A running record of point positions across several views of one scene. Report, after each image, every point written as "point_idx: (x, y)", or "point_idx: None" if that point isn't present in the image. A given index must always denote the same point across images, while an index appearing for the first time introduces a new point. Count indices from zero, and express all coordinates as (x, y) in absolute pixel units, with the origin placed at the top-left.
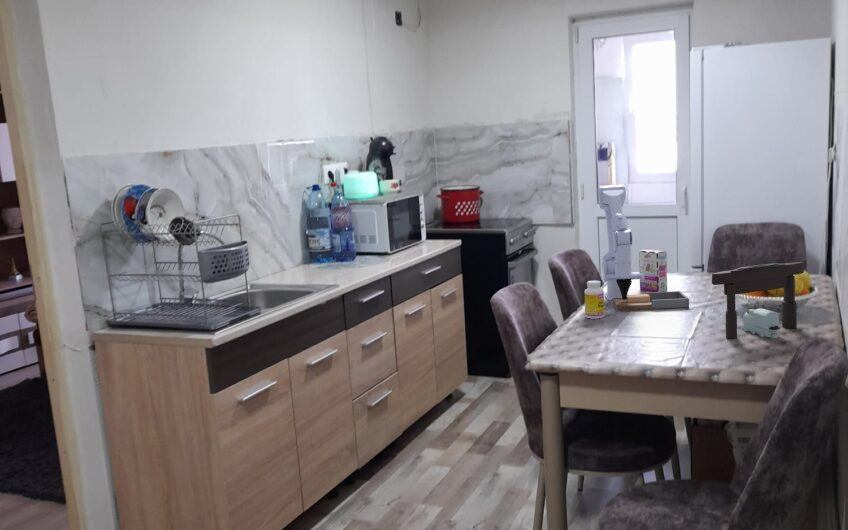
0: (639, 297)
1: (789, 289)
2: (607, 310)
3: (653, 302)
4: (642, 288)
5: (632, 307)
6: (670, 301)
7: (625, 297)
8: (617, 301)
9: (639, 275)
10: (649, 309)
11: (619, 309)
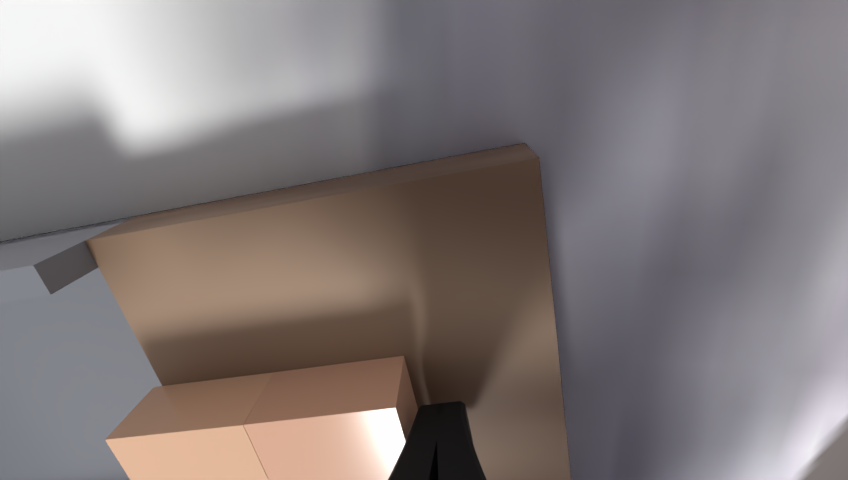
0: (238, 416)
1: None
2: (653, 215)
3: (41, 255)
4: None
5: (334, 187)
6: None
7: (427, 422)
8: (530, 420)
9: None
10: (156, 212)
11: (508, 151)
